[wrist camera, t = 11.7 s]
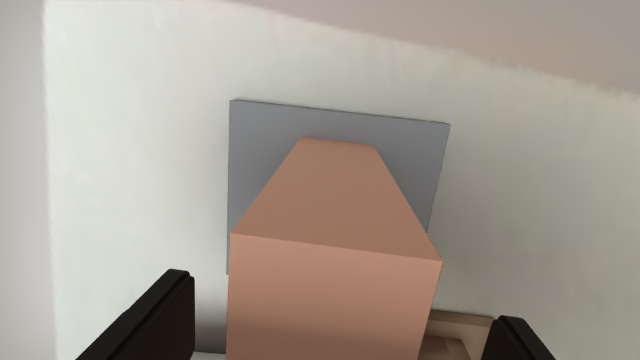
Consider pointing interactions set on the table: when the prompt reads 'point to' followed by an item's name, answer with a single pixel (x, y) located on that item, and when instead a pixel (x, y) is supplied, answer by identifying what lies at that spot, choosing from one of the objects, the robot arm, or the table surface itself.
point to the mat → (293, 122)
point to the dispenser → (454, 336)
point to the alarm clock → (207, 356)
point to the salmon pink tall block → (329, 262)
